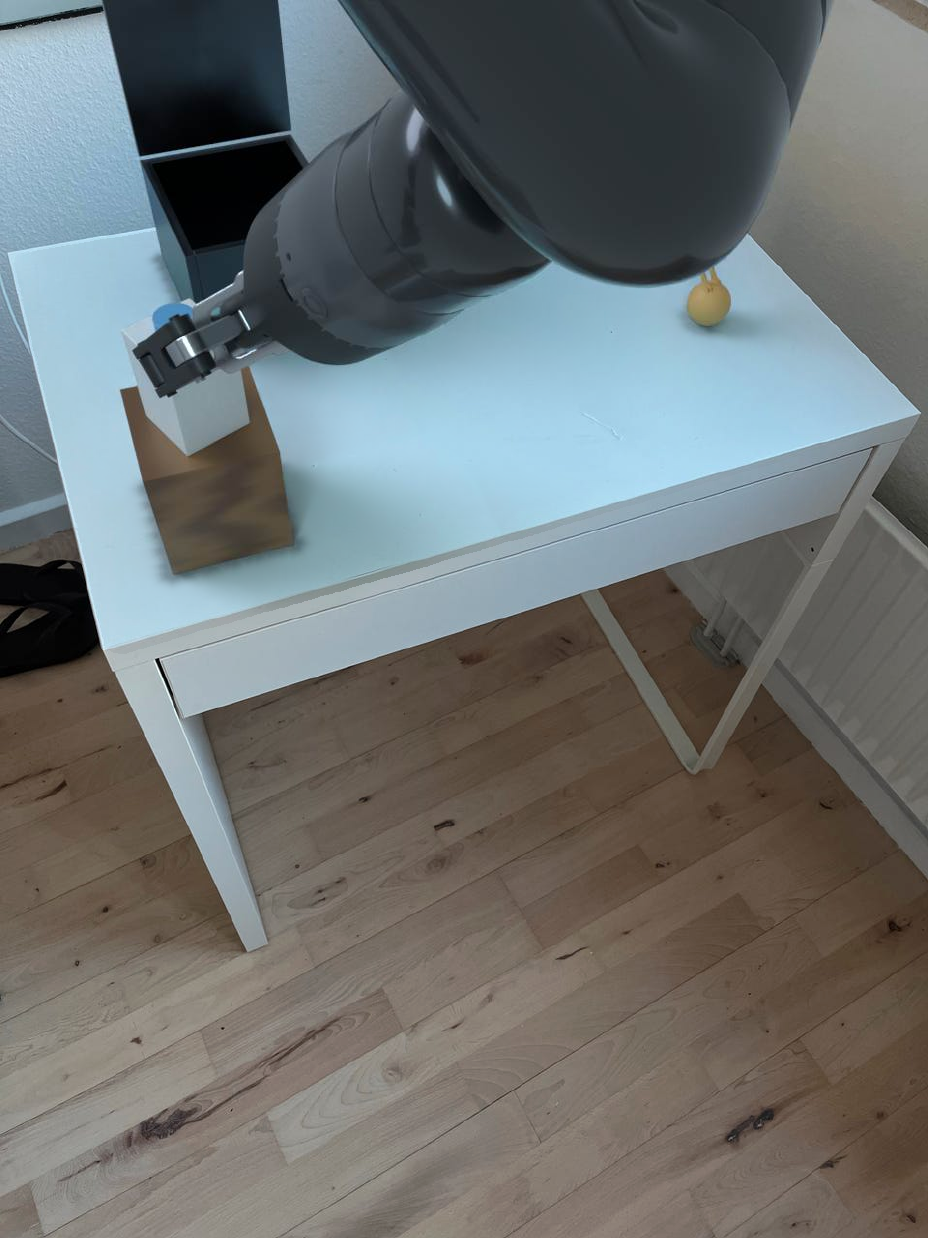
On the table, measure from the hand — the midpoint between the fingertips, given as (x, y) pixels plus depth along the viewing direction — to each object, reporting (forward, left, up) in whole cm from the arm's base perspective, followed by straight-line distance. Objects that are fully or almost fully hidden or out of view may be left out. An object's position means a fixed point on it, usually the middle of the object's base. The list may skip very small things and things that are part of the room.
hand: (240, 334), depth 51 cm
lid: (+34, +22, -4) cm, 41 cm away
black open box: (+29, +17, -22) cm, 40 cm away
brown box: (+4, +7, -22) cm, 23 cm away
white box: (+4, +7, -12) cm, 14 cm away
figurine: (+43, -22, -22) cm, 53 cm away
